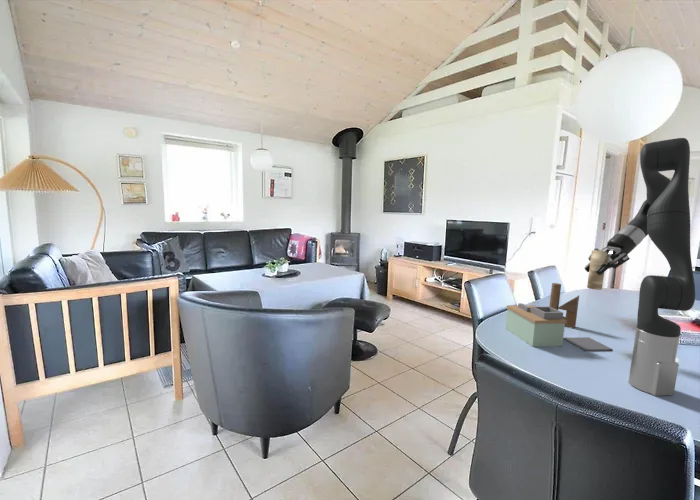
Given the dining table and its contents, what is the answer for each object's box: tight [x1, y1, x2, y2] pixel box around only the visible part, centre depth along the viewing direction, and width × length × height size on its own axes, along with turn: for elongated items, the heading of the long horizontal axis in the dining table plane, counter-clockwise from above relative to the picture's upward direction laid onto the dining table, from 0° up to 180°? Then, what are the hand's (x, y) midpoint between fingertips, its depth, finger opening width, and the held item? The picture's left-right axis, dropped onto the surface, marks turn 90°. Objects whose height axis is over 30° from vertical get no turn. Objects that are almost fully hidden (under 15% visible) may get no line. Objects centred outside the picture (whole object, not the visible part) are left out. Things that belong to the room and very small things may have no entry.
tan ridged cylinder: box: [586, 249, 607, 291], centre depth 126 cm, size 5×5×14 cm
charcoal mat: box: [563, 336, 613, 352], centre depth 130 cm, size 11×11×1 cm
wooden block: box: [548, 282, 580, 329], centre depth 151 cm, size 4×11×18 cm, turn 46°
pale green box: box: [505, 303, 567, 348], centre depth 135 cm, size 19×13×13 cm
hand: (592, 271), depth 126 cm, fingers closed on tan ridged cylinder, 4 cm apart
